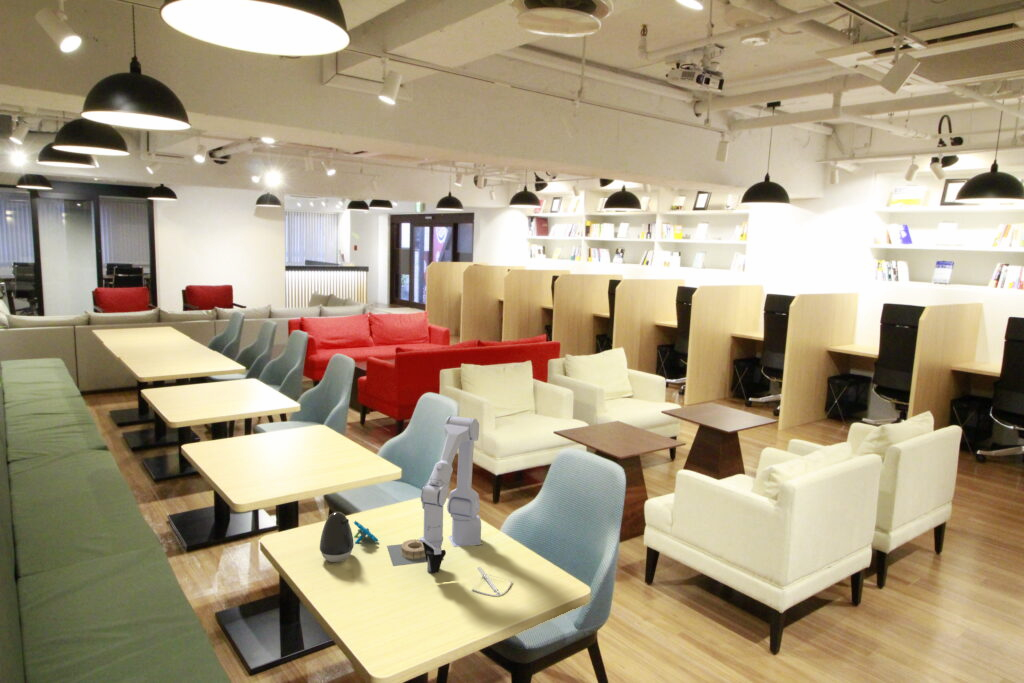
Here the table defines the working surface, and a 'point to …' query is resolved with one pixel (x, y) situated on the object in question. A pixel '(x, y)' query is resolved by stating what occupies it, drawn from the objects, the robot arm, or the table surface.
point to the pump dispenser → (336, 538)
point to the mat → (399, 559)
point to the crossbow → (489, 584)
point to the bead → (413, 549)
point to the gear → (363, 532)
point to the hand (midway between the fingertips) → (432, 566)
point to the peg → (429, 567)
